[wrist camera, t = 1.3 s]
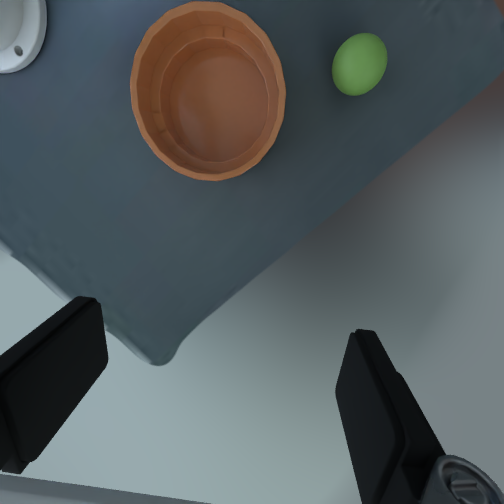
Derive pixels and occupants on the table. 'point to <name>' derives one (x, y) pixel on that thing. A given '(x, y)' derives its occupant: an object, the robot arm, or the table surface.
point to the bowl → (208, 90)
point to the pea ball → (359, 64)
